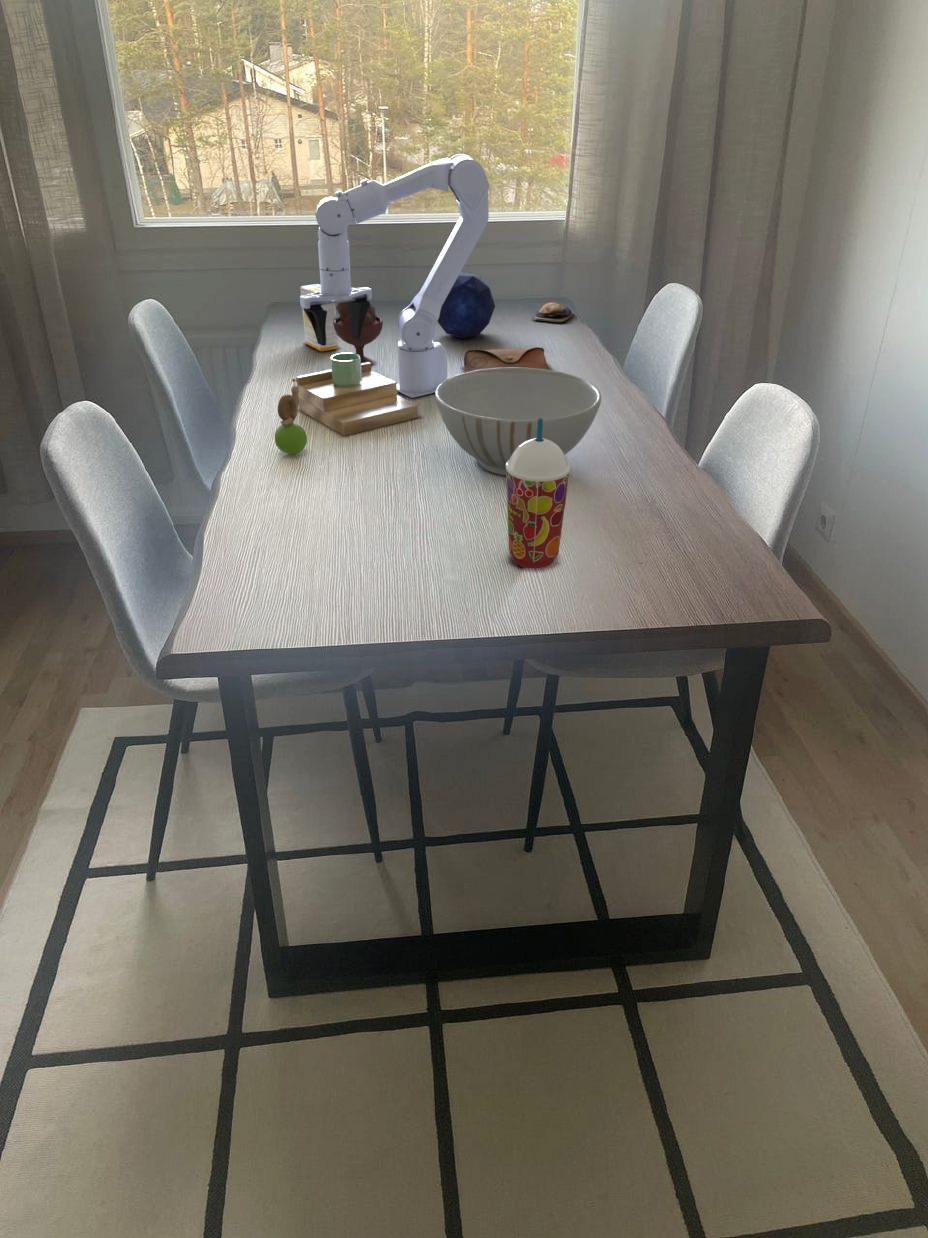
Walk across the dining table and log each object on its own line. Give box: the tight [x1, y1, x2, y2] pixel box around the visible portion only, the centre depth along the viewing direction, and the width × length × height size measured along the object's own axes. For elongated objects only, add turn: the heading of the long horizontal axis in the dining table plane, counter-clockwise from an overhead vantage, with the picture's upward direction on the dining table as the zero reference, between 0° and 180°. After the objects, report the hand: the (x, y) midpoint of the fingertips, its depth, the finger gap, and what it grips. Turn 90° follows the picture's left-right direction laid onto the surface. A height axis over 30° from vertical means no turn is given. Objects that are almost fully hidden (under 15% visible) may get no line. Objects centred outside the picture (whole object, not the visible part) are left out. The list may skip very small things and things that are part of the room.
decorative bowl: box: [434, 367, 602, 476], centre depth 152 cm, size 27×27×12 cm
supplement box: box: [299, 283, 339, 352], centre depth 210 cm, size 8×5×13 cm, turn 34°
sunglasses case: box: [463, 346, 550, 373], centre depth 198 cm, size 18×7×7 cm
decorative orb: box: [437, 271, 496, 340], centre depth 218 cm, size 14×15×15 cm
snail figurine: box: [274, 378, 308, 455], centre depth 155 cm, size 5×6×12 cm
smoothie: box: [505, 418, 572, 570], centre depth 121 cm, size 8×8×20 cm
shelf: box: [295, 362, 419, 437], centre depth 173 cm, size 17×16×6 cm
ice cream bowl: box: [333, 302, 384, 366], centre depth 198 cm, size 11×11×15 cm
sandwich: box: [533, 302, 573, 323], centre depth 235 cm, size 11×8×4 cm
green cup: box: [329, 352, 362, 387], centre depth 173 cm, size 6×6×5 cm
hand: (339, 341), depth 180 cm, fingers open, 7 cm apart
